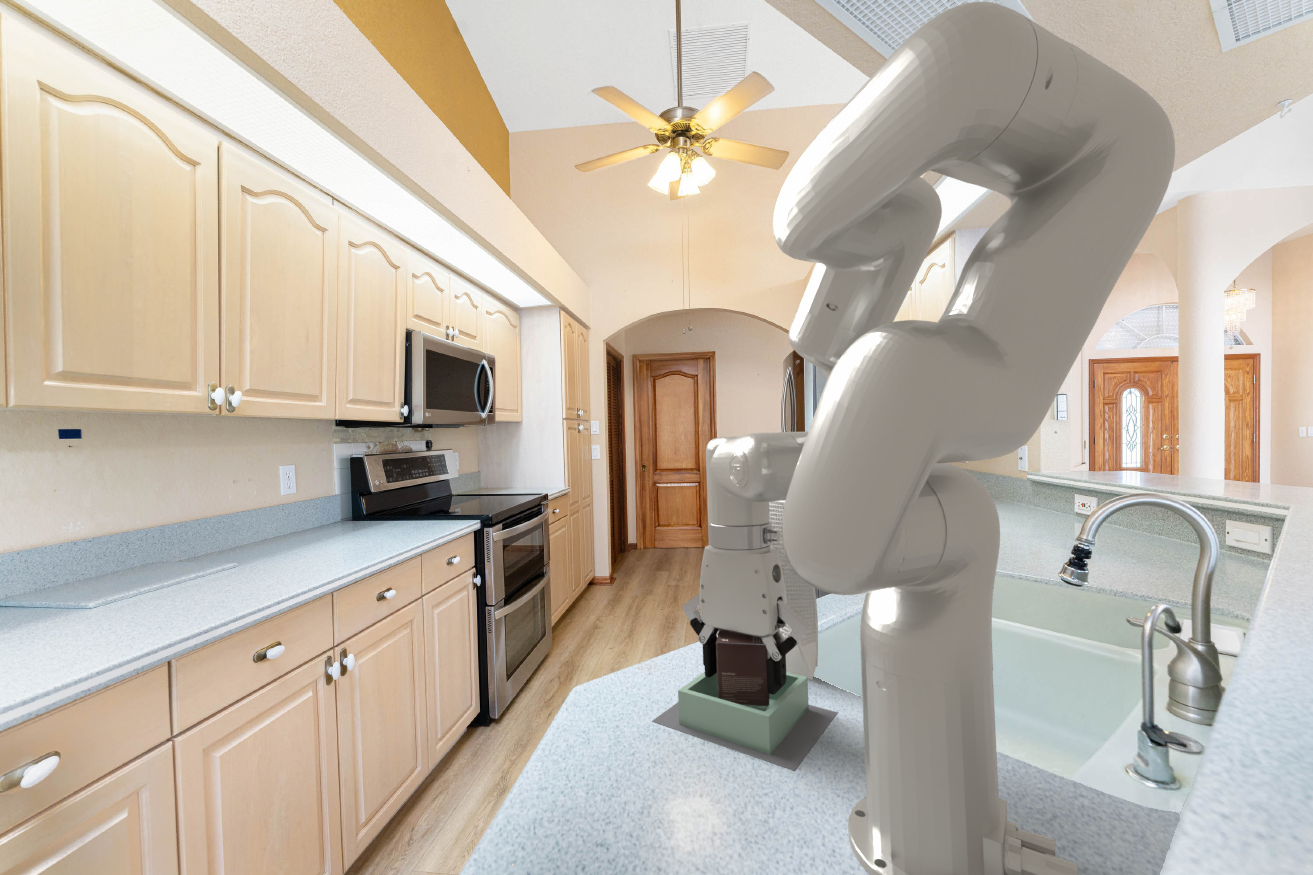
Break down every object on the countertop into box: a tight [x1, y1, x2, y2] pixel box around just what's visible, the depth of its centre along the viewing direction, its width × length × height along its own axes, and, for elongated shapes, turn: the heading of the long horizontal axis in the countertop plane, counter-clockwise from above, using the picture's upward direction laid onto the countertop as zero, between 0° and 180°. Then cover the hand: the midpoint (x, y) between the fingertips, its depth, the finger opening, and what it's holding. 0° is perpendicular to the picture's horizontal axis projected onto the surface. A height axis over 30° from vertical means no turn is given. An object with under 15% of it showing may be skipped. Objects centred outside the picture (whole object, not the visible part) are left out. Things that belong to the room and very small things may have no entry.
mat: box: [651, 701, 839, 772], centre depth 64 cm, size 18×14×1 cm
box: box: [716, 629, 769, 706], centre depth 64 cm, size 6×6×7 cm
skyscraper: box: [767, 500, 819, 681], centre depth 77 cm, size 8×8×28 cm
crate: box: [677, 671, 810, 755], centre depth 64 cm, size 12×12×4 cm
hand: (743, 680), depth 64 cm, fingers closed on box, 7 cm apart
